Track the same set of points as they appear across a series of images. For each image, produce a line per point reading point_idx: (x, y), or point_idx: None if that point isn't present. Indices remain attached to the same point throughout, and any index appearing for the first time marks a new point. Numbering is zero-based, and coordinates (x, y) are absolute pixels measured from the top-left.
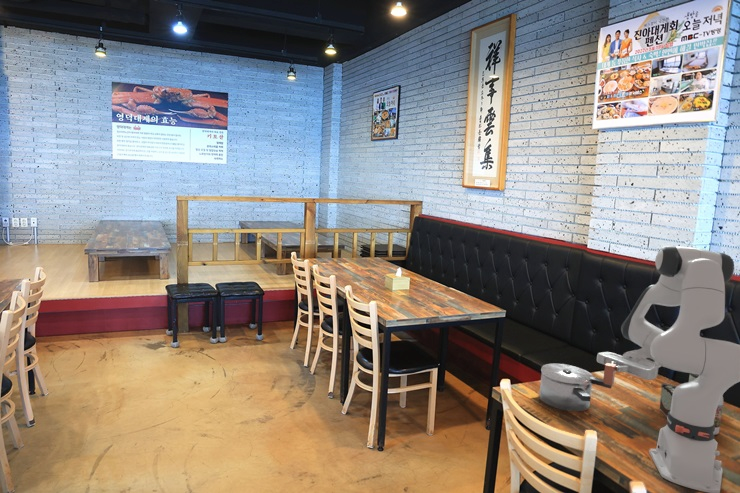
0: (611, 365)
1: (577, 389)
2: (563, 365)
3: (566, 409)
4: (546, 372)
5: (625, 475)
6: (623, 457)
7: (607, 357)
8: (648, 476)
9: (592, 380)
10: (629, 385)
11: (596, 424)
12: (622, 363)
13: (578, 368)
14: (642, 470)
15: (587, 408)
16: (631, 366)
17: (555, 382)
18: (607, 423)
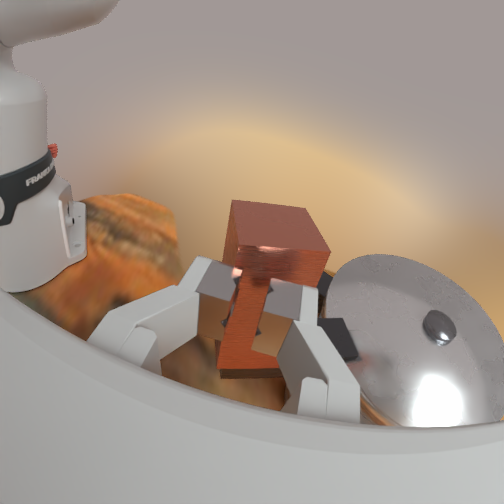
0: (265, 215)
1: (324, 278)
2: (498, 389)
3: None
4: (440, 276)
5: (137, 195)
6: (137, 224)
7: (459, 427)
8: (105, 204)
9: (326, 322)
10: None
11: None
12: (189, 389)
13: None
14: (111, 210)
15: (285, 402)
16: (51, 323)
17: None
18: (188, 342)
